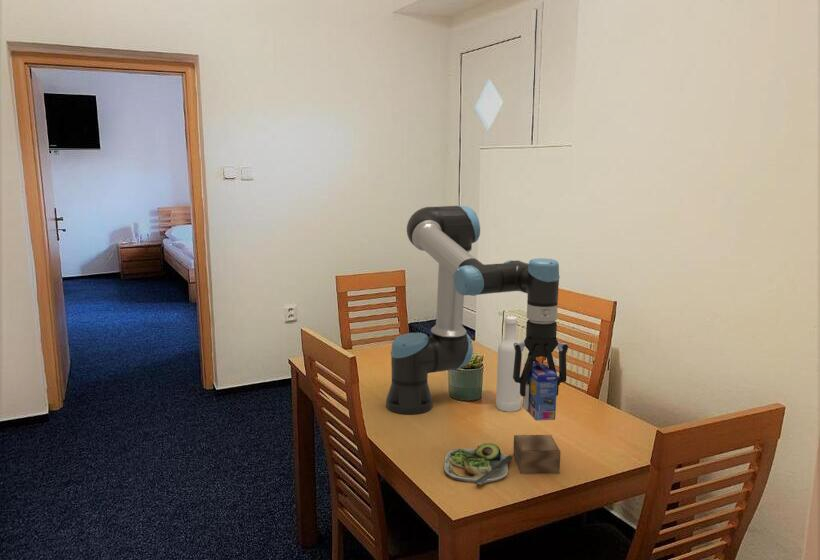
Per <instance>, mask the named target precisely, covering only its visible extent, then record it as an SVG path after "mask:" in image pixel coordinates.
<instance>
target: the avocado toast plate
mask: <svg viewBox="0 0 820 560" xmlns="http://www.w3.org/2000/svg"><path fill="white" fill-rule="evenodd" d="M513 459H514V457H513V455H510V454H509V455H505V454H504V453H502V452H501V449H500V447H499V446H498V445H496V444H495V443H491V442H490V443H489V442H487V443H482V444H480V445H477V448H475V449H474V448H473V449H472V448H461V447H460V448H454V449H451V450H450V451H448V452H447V453H446V454H445V457H444V464H443V471H444V472H445V474H446V475H448V476H449V477H451V478H452V479H454V480H456V481H460V482H465V483H474V484H476V485H478V486H480V485H483V484H486V483H490V482H496V481H499V480H501V479H504V478H506V476H507V475H508V464H509V463H510V462H512V460H513ZM453 467H456V468H459V469H463V470H465V471H466V474H467V475H459V474H457V473H456V472H455V470H454V469H453Z"/></svg>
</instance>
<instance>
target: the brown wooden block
mask: <svg viewBox="0 0 820 560" xmlns="http://www.w3.org/2000/svg"><path fill="white" fill-rule="evenodd" d="M512 451H513V455H512V456H513V459H514V461H515V464H516V466H517V469H518V471H519V473H520V474H521V475H522V474H523V475H527V474H528V475H534V474H535V475H536V474H537V475H538V474H539V475H540V474H547V475H548V474H560V469H561V449H560V448H559V446H558V445H557V443H556V441H555V440H554V438H553V436H552V434H516V435H513V450H512Z"/></svg>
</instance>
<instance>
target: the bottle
mask: <svg viewBox="0 0 820 560" xmlns="http://www.w3.org/2000/svg"><path fill="white" fill-rule="evenodd" d="M504 324H505V325H504V338H503V339H502V340H501V341H500V342H499V345H498V347H497V368H496V369H497V370H496V371H497V372H496V374H497V375H496V376H497V377H496V397H495V398H496V399H495V403H496V404H495V406H496V408H497V409H498V410H500V411H502V412H508V413H511V412H512V413H514V412H518V411H519V410H520V409H521V406H522V405H521V404H522V396H521V395H520V383H516V382H515V381H514V379H513V371H514V361H515V349H514V343H521V341H519V340H518V338H517V330H518V329H517V327H518V318H517V317H516V316H515V315H514V316H511V315H508V316H506V317H505V320H504ZM523 352H524V350H523V351H522V354H523ZM522 372H523V358H522V359H521V369H520V377H521V374H522Z"/></svg>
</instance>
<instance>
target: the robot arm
mask: <svg viewBox="0 0 820 560" xmlns="http://www.w3.org/2000/svg"><path fill="white" fill-rule="evenodd" d="M406 235H407V238H408V240H409V242H410V244H412V245H413V246H414V247H415V248H416V249H418V250H419V251H424V252H425V253H427V254H428V255H429V256H430V257H431V258H432V259H433V260H434V261H436V262H437V263H438V270H437V271H438V276H437V291H436V292H437V293H436V294H437V296H436V316H435V318H436V320H435V325H434V326H433V327H431V328H430V336H428V335H427V334H426V333H423V332H408V333H404V334H401V335H398V336H396V337H395V338H394V339H393V340H392V342H391V350H390V351H391V352H390V355H391V356H390V357H391V363H390V364H391V365H390V366H391V384H390V387H389V390H388V393H387V395H386V400H385V402H386V403H385V404H386V405H385V406H386V408H387V410H389V412H390V411H391V412H393V413H395V414H400V415H401V414H402V415H417V414H418V415H419V414H422V413H426V412H428V411H430V410H432V409H433V407H434V405H433V404H434V403H433V401H434V400H433V397H432V393H431V390H430V389H431V388H430V387H429V384H428V374H432V373H438V372H445V371H456V370H459V369H462V368H461V367H463V366H465V365H466V364H468V363H469V364H470V362H471V361H472V357H473V353H474V349H473V348H474V346H473V343H472V342H473V341H472V338H471V336H470V335H469V334H468V333H467V330H466V328H465V327H464V326H463V320H464V318H463V317H464V302H465V296H473V297H475V296H478V295H486V294H487V295H488V294H500V293H510V292H520V293H525V294H527V300H526V301H527V302H526V303H527V304H526V319H527V321H526V327H525V328H526V330H525V338H524V339H523V341H522V342H520V343H514V349H515V361H514V371H513V379H514V381H515V382H516V383H520V395H521V397H522V407H523V406H524V408H525V409H524V408H523V409H524V410H525V411H526V410H528V402H529V385H528V383H527V380H528V377H529V374H530V371H531V369H532V366H533V363H535V359H536V360H537V358H541V357H543V358H545V359H546V362H547V366H548V368H550V369H551V370H553V371H554V372H555V373H557V374H558V375H559V376H558V375H557V393H556V397H558V396H559V386H560V385H561V383H566V382H567V352H568V350H569V346H568V345H567V343H566V342H564V341H563V342H560V341H558V338H557V329H558V328H557V327H558V322H557V320H558V303H559V302H558V301H559V285H560V278H561V277H560V276H561V275H560V263H559V262H558V260H555V259H553V258H552V259H551V258H532V259H530V260H529V261H528V263H527V262H523V261H521V260H512V259H511V260H506V261H505V262H504V263H503V262H502V263H491V264H484V263H482V262H481V261H479V259H477V258H476V257H475V256H473V255H472V254H471V253H470V252H472V249H473V248H472V247H473V244H475V243H476V242H477V241H478V240H479V238H480V235H481V223H480V219H479V216H478V215H477V213H476V211H475V210H474V209H473V208H471V207H470V206H464V205H447V206H445V205H444V206H425V207H421V208H419V209H418V210H416V211H414V213H412V214H411V216H410V218H409V219H408V221H407V224H406ZM524 348H526V349H527V350H528V353H527V357H526V361H525V363H524V366H523V368H522V374H521V377H520V369H521V359H522V360H523V353H522V351H523V352H524ZM556 348H557V350H558V372H559V373H558V372H557V369H556V366H555V361H554V357H553V352H554V350H555V349H556ZM469 364H468V365H469ZM466 366H467V365H466ZM466 366H465V367H466ZM458 368H459V369H458ZM463 368H464V367H463Z"/></svg>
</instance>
